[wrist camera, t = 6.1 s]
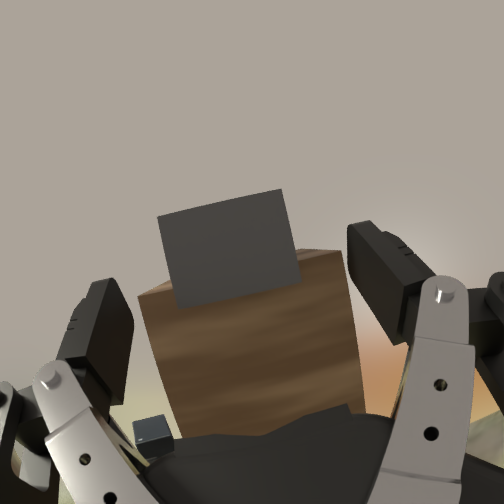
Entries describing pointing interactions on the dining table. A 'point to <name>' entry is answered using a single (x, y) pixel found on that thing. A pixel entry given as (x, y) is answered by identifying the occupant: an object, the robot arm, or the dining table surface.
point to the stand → (258, 352)
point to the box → (153, 437)
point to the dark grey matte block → (229, 249)
